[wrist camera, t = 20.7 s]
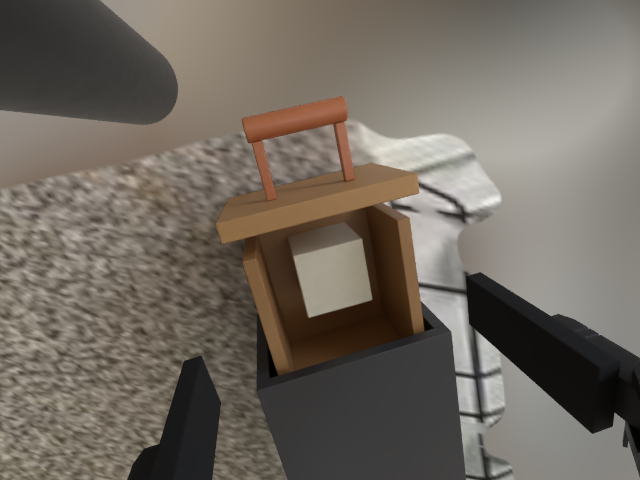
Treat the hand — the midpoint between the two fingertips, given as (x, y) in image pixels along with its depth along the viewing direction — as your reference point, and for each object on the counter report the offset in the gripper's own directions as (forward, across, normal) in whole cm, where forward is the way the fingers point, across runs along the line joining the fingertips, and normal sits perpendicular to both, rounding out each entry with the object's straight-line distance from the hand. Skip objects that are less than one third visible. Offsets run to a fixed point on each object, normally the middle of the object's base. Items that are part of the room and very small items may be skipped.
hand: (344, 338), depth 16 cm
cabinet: (+13, +1, -12) cm, 18 cm away
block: (+11, +1, 0) cm, 11 cm away
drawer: (+12, +1, +1) cm, 12 cm away
